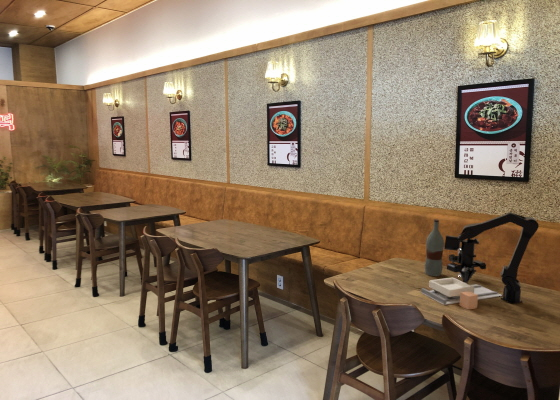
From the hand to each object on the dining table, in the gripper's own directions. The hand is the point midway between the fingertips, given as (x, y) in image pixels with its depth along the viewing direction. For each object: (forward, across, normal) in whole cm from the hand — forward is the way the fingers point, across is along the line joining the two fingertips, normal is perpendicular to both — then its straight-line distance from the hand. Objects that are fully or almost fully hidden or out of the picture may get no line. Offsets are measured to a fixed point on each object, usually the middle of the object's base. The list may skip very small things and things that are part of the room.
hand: (465, 283), depth 209 cm
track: (+5, +2, 0) cm, 5 cm away
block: (+5, +10, +13) cm, 17 cm away
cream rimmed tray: (+4, +8, 0) cm, 9 cm away
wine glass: (+5, -20, -22) cm, 30 cm away
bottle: (+5, -6, -30) cm, 31 cm away
